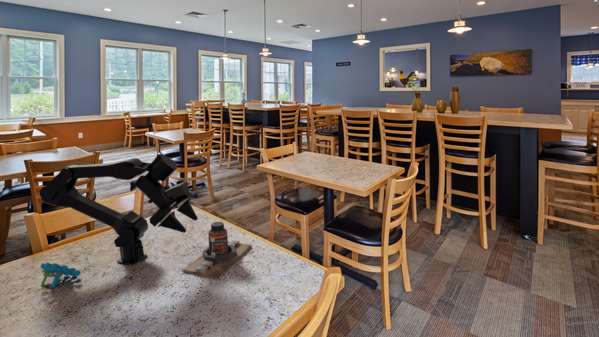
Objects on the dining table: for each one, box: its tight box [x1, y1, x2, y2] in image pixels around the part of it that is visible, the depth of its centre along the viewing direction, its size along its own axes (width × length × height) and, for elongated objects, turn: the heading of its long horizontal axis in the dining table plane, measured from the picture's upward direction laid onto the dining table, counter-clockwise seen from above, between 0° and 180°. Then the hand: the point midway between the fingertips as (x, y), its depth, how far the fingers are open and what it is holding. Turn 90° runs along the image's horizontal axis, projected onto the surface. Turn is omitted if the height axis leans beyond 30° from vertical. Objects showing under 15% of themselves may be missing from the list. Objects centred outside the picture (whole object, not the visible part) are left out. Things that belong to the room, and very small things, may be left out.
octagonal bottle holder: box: [182, 239, 253, 279], centre depth 109 cm, size 12×22×3 cm, turn 162°
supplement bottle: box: [207, 221, 229, 257], centre depth 108 cm, size 6×6×11 cm
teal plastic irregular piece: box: [40, 262, 81, 289], centre depth 95 cm, size 11×6×10 cm
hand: (191, 225), depth 107 cm, fingers open, 9 cm apart
